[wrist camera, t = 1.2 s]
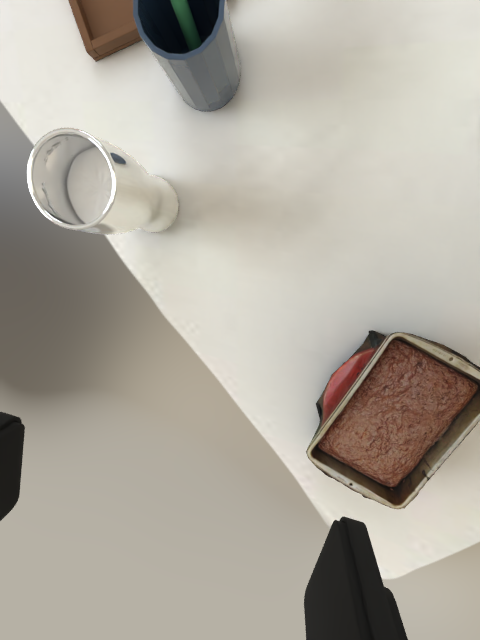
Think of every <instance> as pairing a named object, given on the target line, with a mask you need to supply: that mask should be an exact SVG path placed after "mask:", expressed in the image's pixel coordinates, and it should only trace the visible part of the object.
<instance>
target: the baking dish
mask: <svg viewBox="0 0 480 640" xmlns="http://www.w3.org/2000/svg"><path fill="white" fill-rule="evenodd" d="M316 406H317V410H318V413H319V417H320V424H319V427H318V429H317V431H316V433H315V435H314V437H313V439H312V441H311V443H310V445H309V447H308V449H307V451H306V453H307V456H308V458H309V459H310V460H311V461H312V463H313V464H314V465H315V466H316V467H317V468H318V469H320V470H321V471H322V472H323V473H324V474H325V475H327V476H329V477H331V478H333V479H335V480H337V481H338V482H341V483H342V484H344V485H345V486H347V487H348V488H350V489H352V490H353V491H355V492H357V493H360V494H362V495H363V497H365V498H369V499H372V500H375V501H377V502H379V503H381V504H383V505H385V506H389V507H390V508H394V509H401V508H405V507H406V506H407V505H408V504H409V503H410V502H411V501H412V500H413V499H414V498H415V497H416V496H417V495H418V493H419V491H420V490H421V489H422V488H423V486H424V485H425V484H426V482H427V481H428V480H429V479H430V478H431V477H432V476H433V475H434V473H435V472H436V471H437V470H438V469H439V468H440V466H441V465H442V464H443V462H444V461H445V460H446V459H447V458H448V457H449V456H450V454H451V453H452V452H453V451H454V450H455V449H456V448H457V446H458V445H459V444H460V443H461V442H462V441H463V440H464V438H465V437H466V436H467V435H468V434H469V433H470V432H471V430H472V429H473V428H474V427H475V426H476V425H477V423H478V422H479V421H480V367H478V366H477V365H475V364H473V363H472V362H470V361H469V360H468V359H467V358H466V357H465V356H463V355H461V354H459V353H457V352H456V351H454V350H452V349H450V348H448V347H446V346H444V345H442V344H439V343H436V342H433V341H430V340H427V339H424V338H421V337H419V336H416V335H413V334H408V333H399V332H397V333H393V334H390V335H388V336H385V335H382V334H380V333H377V332H375V331H369V335H368V337H367V338H366V340H365V342H364V344H363V345H362V346H361V347H360V348H359V349H358V350H357V351H356V352H355V353H354V354H353V355H352V356H351V357H350V359H349V360H348V361H347V362H345V363H343V365H342V366H341V367H340V368H339V369H337V370H336V371H335V372H334V373H333V374H332V375H331V378H330V380H329V382H328V384H327V386H326V388H325V390H324V392H323V394H322V395H321V397H320V399H319V400H318V401H317V403H316Z"/></svg>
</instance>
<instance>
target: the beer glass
mask: <svg viewBox="0 0 480 640" xmlns="http://www.w3.org/2000/svg"><path fill="white" fill-rule="evenodd" d="M27 180H28V186H29V190H30V193H31V195H32V198H33V200H34V202H35V204H36V206H37V207H38V209H39V210H40V211H41V212H42V213H43V214H44V215H45V217H47V218H48V219H49V220H50V221H52V222H53V223H55V224H56V225H58V226H61V227H63V228H66V229H71V230H79V231H84V232H89V233H96V234H122V233H126V232H131V231H134V230H137V229H141V230H144V231H146V232H151V233H157V232H161V231H164V230H166V229H167V228H169V227H170V226H171V225H172V224H173V223H174V221H175V219H176V217H177V214H178V210H179V201H178V197H177V194H176V192H175V190H174V188H173V187H172V186H171V184H170V183H169V182H167V181H166V180H165V179H163V178H161V177H158V176H154V175H149V173H148V172H147V171H146V170H145V169H144V168H143V166H142V165H141V164H140V163H139V162H137V161H136V160H135V159H134V158H133V157H132V156H131V155H129V154H128V153H126V152H125V151H123V150H122V149H120V148H119V147H117V146H115V145H113V144H111V143H109V142H107V141H104V140H102V139H100V138H97V137H95V136H92V135H90V134H88V133H86V132H84V131H82V130H79V129H75V128H60V129H56V130H53V131H51V132H49V133H47V134H46V135H44V136H43V137H42V138H41V139H40V140H39V141H38V142H37V143H36V145H35V146H34V148H33V150H32V152H31V155H30V157H29V161H28V166H27Z"/></svg>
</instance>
